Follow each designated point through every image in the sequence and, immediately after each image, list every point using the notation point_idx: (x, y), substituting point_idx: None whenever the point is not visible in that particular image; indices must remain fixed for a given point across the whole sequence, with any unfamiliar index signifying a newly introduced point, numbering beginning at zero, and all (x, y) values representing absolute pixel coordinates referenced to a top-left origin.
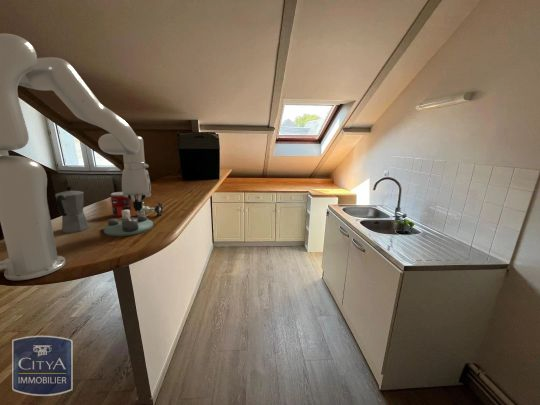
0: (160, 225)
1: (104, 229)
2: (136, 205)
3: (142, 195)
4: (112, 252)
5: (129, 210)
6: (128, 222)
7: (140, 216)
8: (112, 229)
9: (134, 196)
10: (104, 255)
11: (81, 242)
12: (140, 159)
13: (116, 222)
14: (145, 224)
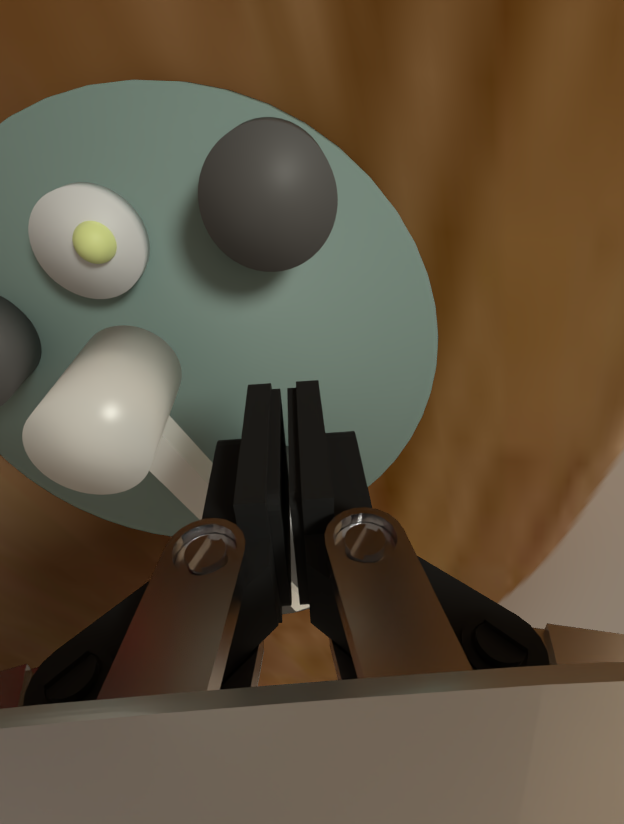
0: (505, 278)
1: (33, 477)
2: (289, 554)
3: (434, 661)
4: (295, 660)
5: (149, 444)
6: (289, 607)
7: (254, 227)
8: None
9: (187, 650)
10: (275, 676)
11: (34, 580)
12: None
13: (28, 369)
14: (364, 368)
